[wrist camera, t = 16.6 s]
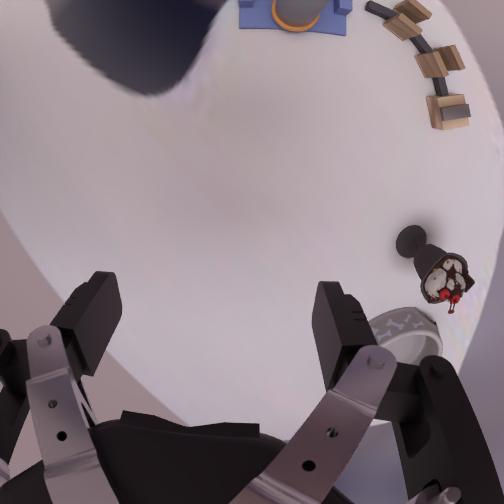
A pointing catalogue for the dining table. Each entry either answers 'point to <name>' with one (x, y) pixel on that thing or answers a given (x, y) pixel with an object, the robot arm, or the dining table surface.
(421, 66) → the clip
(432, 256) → the sundae
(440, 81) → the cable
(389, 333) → the dog bowl
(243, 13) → the holder
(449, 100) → the tan wooden end block
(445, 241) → the dining table surface
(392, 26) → the clip
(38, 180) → the dining table surface
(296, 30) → the grey piece
